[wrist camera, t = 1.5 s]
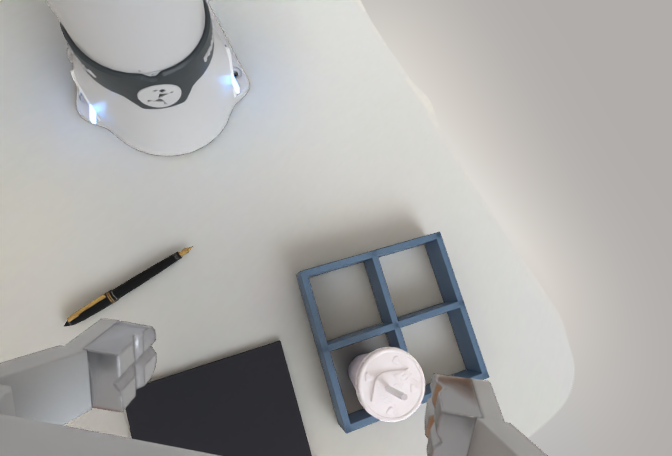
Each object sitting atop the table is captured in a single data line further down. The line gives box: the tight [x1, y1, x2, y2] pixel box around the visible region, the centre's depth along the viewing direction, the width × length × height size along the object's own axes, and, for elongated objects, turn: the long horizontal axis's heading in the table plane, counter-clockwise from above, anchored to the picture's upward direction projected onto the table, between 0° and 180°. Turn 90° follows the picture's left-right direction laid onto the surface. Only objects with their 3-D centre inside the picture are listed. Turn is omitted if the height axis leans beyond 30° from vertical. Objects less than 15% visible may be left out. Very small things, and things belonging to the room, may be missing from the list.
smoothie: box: [348, 347, 425, 422], centre depth 40 cm, size 6×6×14 cm
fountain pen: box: [64, 246, 193, 326], centre depth 44 cm, size 14×1×2 cm, turn 126°
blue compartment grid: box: [297, 232, 489, 433], centre depth 47 cm, size 17×17×4 cm
